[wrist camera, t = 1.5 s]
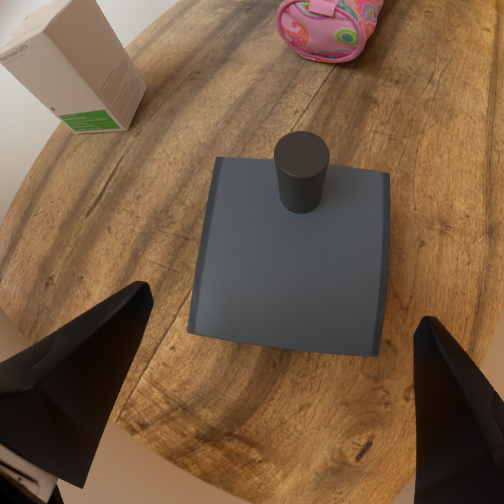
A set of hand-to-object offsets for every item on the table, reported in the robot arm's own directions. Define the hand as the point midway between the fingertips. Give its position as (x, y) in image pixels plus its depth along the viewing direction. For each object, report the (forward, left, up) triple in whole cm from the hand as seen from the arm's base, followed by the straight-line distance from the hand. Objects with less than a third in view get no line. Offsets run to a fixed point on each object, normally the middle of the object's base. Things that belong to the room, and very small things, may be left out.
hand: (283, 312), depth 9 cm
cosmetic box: (+23, +16, -13) cm, 31 cm away
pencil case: (+31, -12, -13) cm, 36 cm away
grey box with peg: (-2, 0, -7) cm, 7 cm away
